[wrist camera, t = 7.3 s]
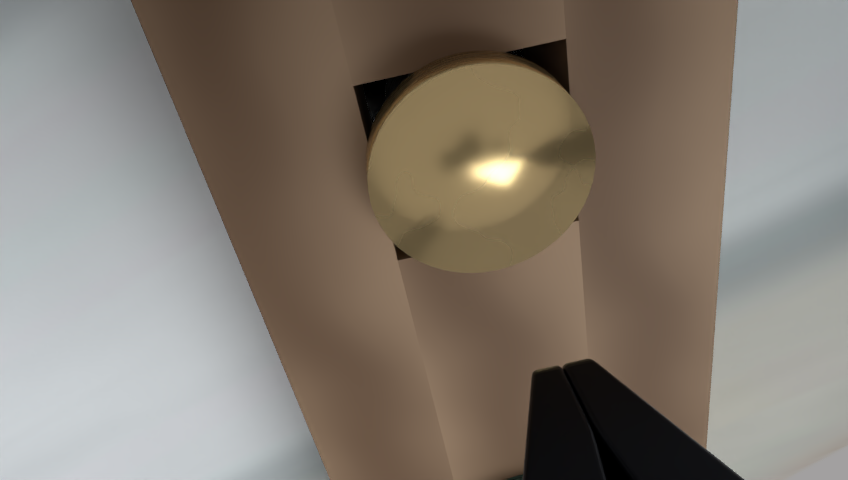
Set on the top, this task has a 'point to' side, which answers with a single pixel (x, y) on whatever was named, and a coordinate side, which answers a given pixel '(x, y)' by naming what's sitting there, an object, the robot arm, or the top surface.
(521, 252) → the plunger ochre
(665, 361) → the walnut block
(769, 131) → the top surface
